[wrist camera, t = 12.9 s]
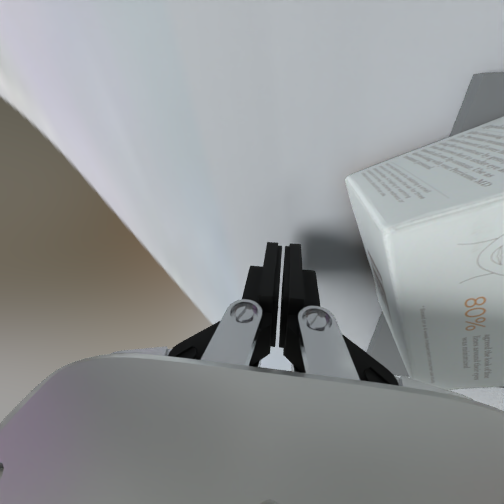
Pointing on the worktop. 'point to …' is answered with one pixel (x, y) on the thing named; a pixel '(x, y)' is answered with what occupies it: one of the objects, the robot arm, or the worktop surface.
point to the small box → (440, 254)
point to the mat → (470, 116)
